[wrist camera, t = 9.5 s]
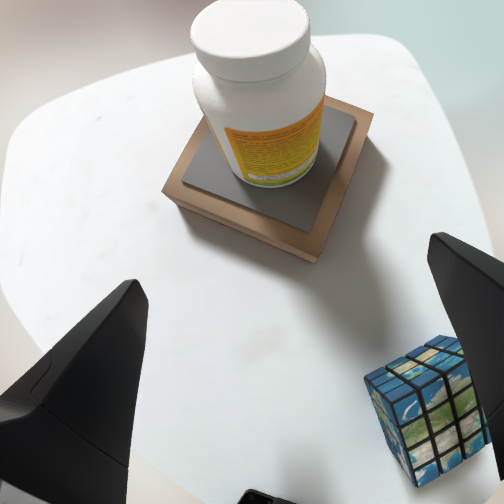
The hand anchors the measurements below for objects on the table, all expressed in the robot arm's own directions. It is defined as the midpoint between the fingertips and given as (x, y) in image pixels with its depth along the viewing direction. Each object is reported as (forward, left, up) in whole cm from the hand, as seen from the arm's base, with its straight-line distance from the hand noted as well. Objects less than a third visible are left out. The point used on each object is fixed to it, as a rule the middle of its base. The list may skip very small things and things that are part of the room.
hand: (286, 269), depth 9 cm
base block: (+7, +4, -11) cm, 13 cm away
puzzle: (-3, -11, -11) cm, 16 cm away
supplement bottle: (+7, +4, -8) cm, 11 cm away
